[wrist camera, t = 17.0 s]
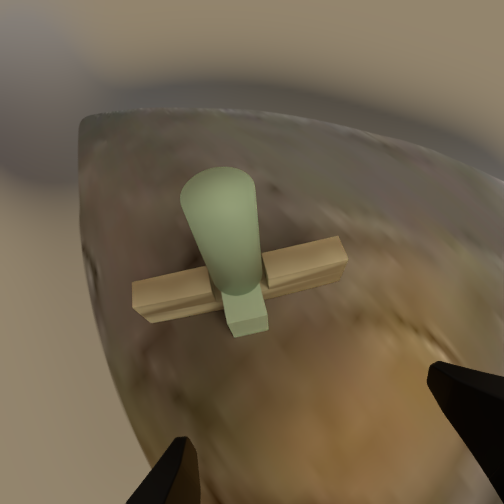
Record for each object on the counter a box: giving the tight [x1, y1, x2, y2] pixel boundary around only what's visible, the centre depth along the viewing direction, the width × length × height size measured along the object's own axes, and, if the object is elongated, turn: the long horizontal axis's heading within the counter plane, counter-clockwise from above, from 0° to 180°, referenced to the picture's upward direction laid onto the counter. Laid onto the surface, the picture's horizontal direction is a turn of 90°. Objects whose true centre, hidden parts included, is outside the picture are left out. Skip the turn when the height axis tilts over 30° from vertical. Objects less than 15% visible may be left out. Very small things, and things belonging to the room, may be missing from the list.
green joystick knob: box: [180, 167, 269, 338], centre depth 20 cm, size 8×4×13 cm, turn 13°
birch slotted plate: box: [132, 236, 348, 323], centre depth 24 cm, size 2×18×4 cm, turn 102°
